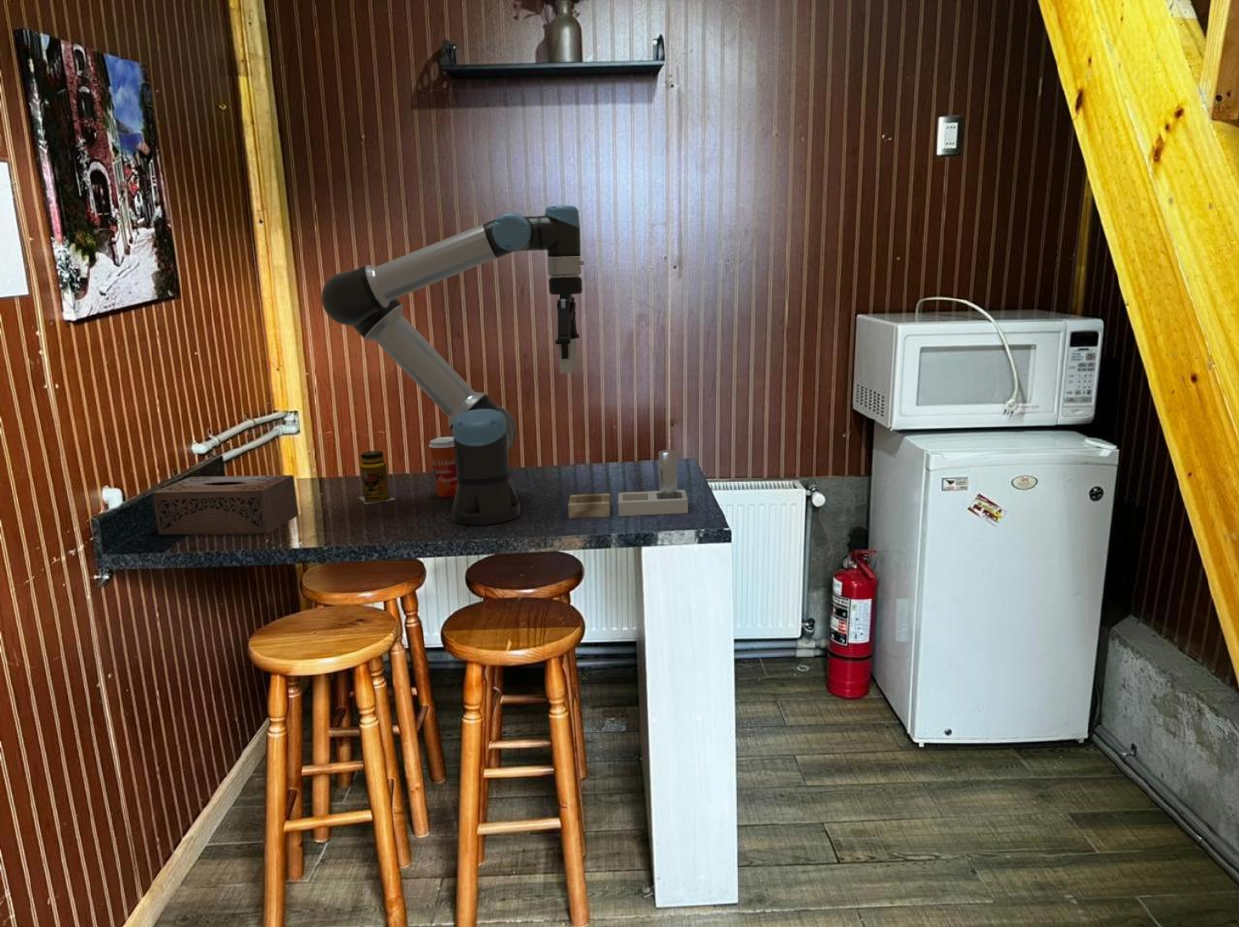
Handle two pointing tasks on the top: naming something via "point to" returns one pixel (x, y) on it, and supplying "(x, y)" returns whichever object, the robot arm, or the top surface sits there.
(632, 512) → the rack
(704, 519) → the top surface
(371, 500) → the condiment
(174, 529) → the tissue box cover
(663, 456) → the grey peg
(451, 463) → the paper cup
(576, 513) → the socket block
